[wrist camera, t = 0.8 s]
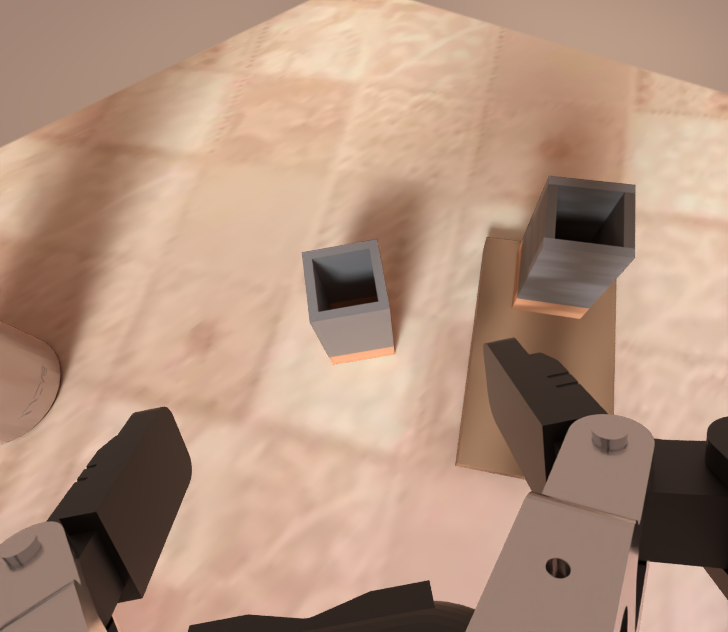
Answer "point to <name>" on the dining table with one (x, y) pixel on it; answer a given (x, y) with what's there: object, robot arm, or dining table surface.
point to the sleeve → (349, 301)
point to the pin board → (550, 302)
